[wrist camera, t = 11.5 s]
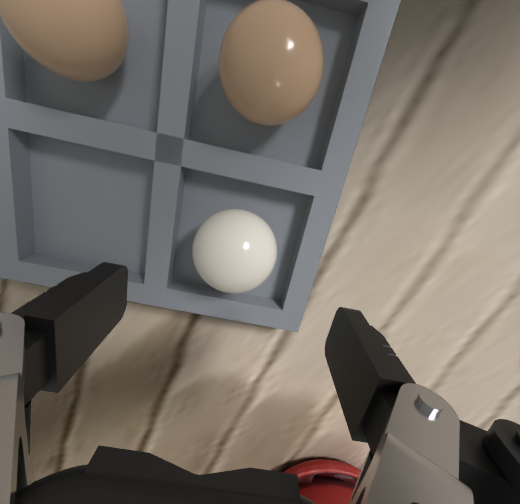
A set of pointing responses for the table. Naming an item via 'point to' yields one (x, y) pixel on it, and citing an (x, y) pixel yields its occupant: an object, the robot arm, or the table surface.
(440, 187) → the table surface
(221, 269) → the pale egg
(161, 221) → the egg tray
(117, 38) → the brown egg
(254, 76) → the brown egg
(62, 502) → the robot arm
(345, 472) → the plant pot
